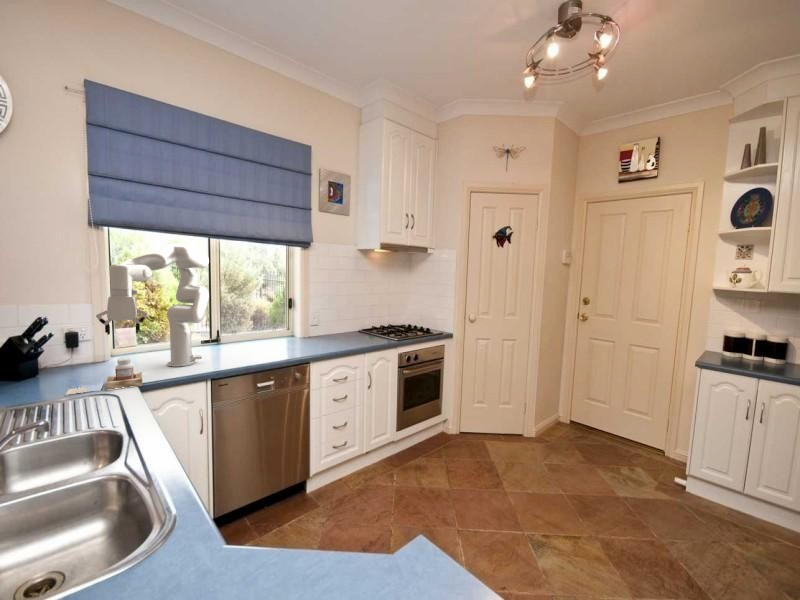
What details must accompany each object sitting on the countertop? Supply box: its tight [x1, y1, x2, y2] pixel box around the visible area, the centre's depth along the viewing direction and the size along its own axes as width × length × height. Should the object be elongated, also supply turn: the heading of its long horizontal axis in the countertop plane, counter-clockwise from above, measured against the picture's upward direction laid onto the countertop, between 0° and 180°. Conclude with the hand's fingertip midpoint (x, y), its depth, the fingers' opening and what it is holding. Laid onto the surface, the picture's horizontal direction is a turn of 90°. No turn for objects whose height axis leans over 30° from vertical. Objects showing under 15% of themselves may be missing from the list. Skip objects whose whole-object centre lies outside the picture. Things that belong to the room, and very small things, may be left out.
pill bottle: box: [115, 357, 135, 381], centre depth 156 cm, size 6×6×11 cm
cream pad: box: [64, 386, 89, 396], centre depth 149 cm, size 11×11×1 cm
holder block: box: [105, 372, 143, 390], centre depth 156 cm, size 12×12×3 cm
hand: (123, 333), depth 155 cm, fingers open, 9 cm apart
